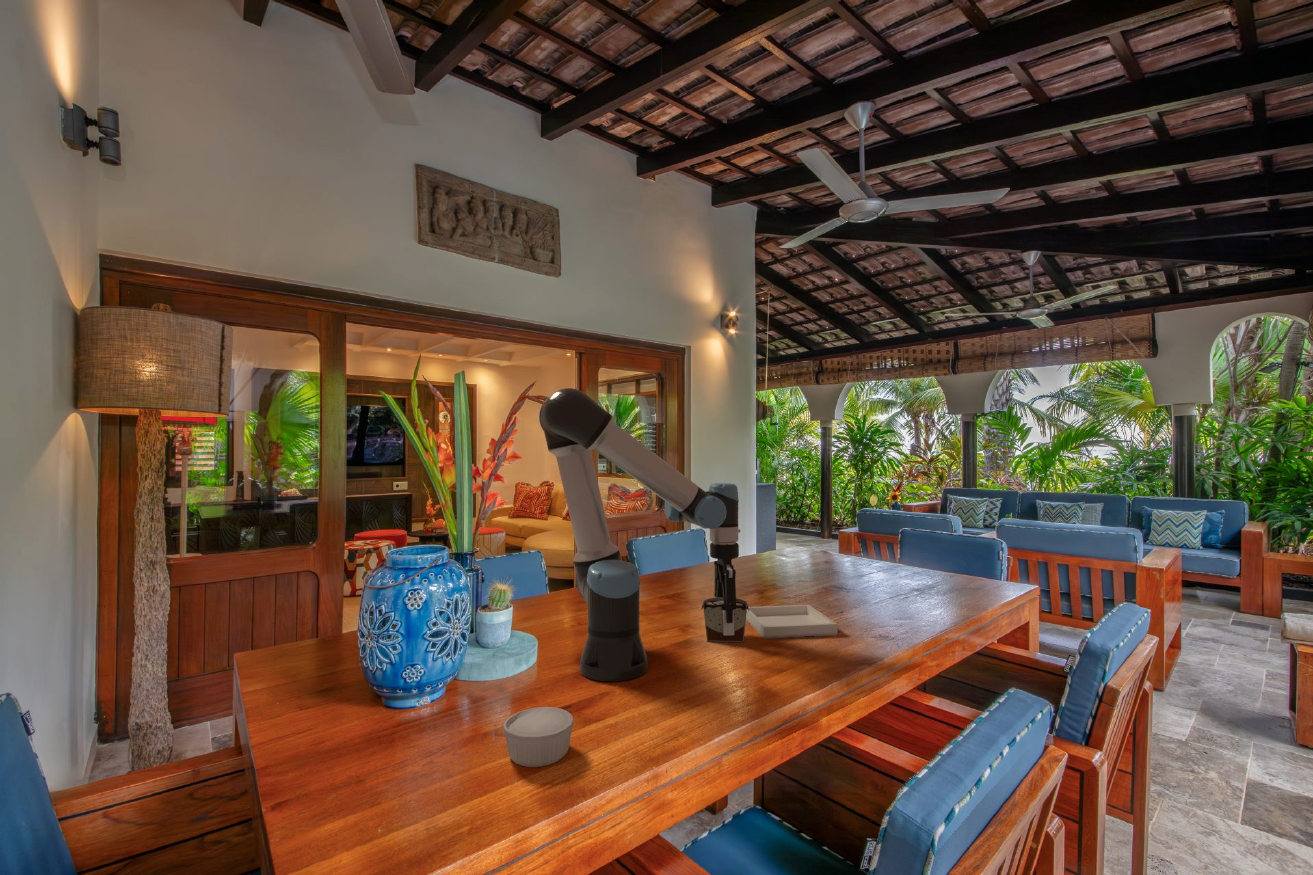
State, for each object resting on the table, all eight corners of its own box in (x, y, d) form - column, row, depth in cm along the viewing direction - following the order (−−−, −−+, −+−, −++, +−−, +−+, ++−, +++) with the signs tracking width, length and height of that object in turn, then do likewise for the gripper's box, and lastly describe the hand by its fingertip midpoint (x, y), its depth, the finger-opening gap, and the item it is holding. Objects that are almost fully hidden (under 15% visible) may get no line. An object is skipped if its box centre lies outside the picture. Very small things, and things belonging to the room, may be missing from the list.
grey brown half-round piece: (748, 635, 156) (747, 597, 156) (749, 642, 150) (749, 602, 150) (701, 633, 157) (701, 596, 157) (701, 640, 151) (701, 601, 151)
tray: (837, 635, 155) (837, 623, 155) (764, 638, 153) (764, 627, 153) (808, 614, 175) (808, 604, 175) (743, 617, 172) (743, 607, 173)
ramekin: (510, 737, 101) (510, 706, 101) (575, 735, 101) (575, 704, 101) (497, 773, 89) (497, 738, 90) (570, 770, 90) (570, 735, 90)
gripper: (748, 547, 145) (749, 641, 144) (729, 536, 164) (729, 619, 164) (718, 548, 144) (719, 643, 143) (702, 537, 163) (703, 620, 163)
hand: (725, 630), depth 153 cm, fingers closed on grey brown half-round piece, 7 cm apart
